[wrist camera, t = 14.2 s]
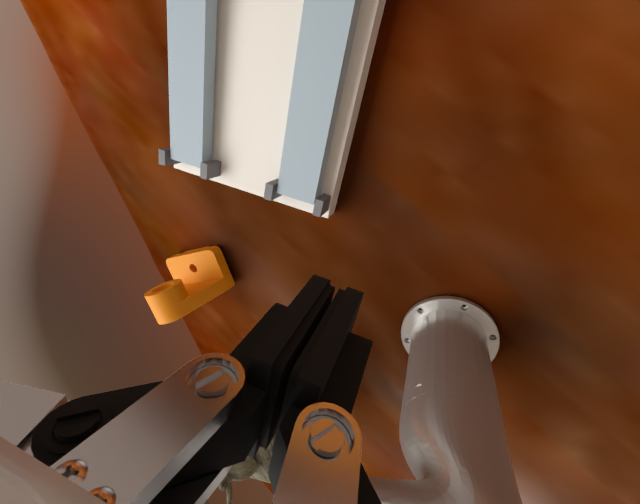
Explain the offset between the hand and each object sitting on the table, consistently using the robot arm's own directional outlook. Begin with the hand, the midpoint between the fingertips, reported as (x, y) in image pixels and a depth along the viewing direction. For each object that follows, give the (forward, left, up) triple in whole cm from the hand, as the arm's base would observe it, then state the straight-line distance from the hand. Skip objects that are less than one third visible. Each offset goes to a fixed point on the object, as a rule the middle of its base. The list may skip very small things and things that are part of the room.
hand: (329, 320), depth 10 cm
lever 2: (+5, +12, -29) cm, 31 cm away
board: (+6, +20, -32) cm, 38 cm away
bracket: (-25, +28, -32) cm, 50 cm away
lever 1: (+5, +28, -29) cm, 40 cm away
